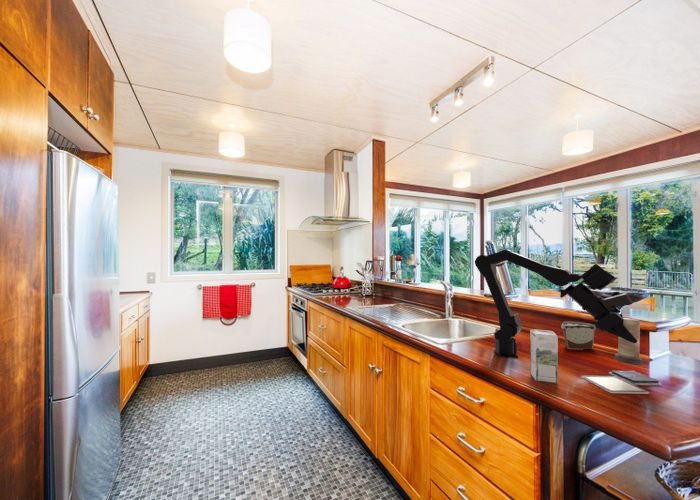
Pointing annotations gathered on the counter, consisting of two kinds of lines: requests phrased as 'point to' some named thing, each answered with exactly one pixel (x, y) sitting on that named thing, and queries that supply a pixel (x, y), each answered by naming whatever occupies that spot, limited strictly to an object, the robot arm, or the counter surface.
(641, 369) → the counter surface
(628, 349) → the stamp
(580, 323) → the food container
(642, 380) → the ink pad
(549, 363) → the syrup box
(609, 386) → the marked board
